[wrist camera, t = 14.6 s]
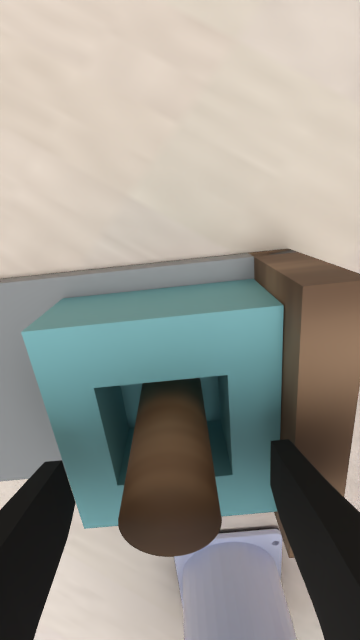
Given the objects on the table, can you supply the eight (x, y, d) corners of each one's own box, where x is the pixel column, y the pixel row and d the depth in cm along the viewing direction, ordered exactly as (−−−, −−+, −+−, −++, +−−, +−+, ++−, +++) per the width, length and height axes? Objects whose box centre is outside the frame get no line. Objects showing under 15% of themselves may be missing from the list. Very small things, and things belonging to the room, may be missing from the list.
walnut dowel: (200, 409, 16) (219, 555, 9) (144, 410, 16) (122, 558, 9) (201, 359, 15) (223, 484, 8) (140, 360, 14) (113, 486, 8)
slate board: (282, 439, 19) (289, 454, 18) (-86, 474, 19) (-102, 490, 18) (288, 248, 14) (298, 252, 13) (-186, 298, 15) (-216, 306, 14)
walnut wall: (282, 439, 19) (336, 554, 12) (251, 442, 19) (289, 558, 13) (288, 248, 14) (374, 279, 8) (247, 253, 14) (302, 286, 8)
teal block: (255, 445, 17) (278, 511, 13) (103, 459, 17) (84, 528, 14) (253, 278, 14) (283, 305, 10) (62, 298, 14) (20, 331, 10)
